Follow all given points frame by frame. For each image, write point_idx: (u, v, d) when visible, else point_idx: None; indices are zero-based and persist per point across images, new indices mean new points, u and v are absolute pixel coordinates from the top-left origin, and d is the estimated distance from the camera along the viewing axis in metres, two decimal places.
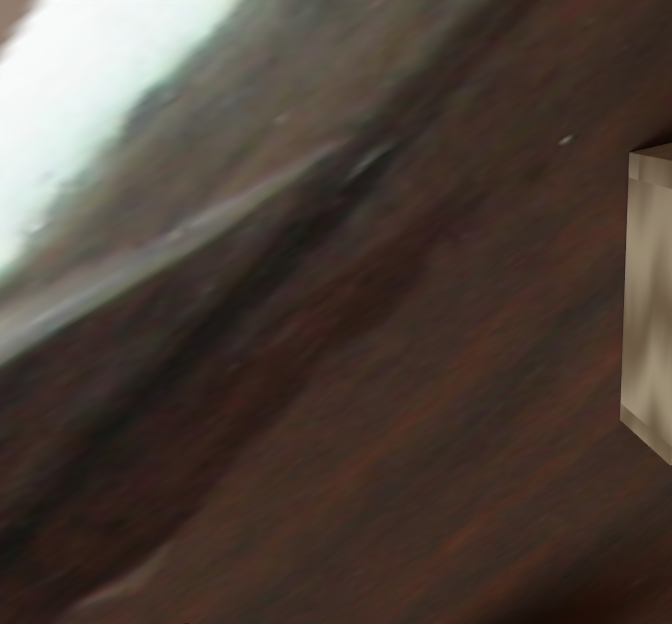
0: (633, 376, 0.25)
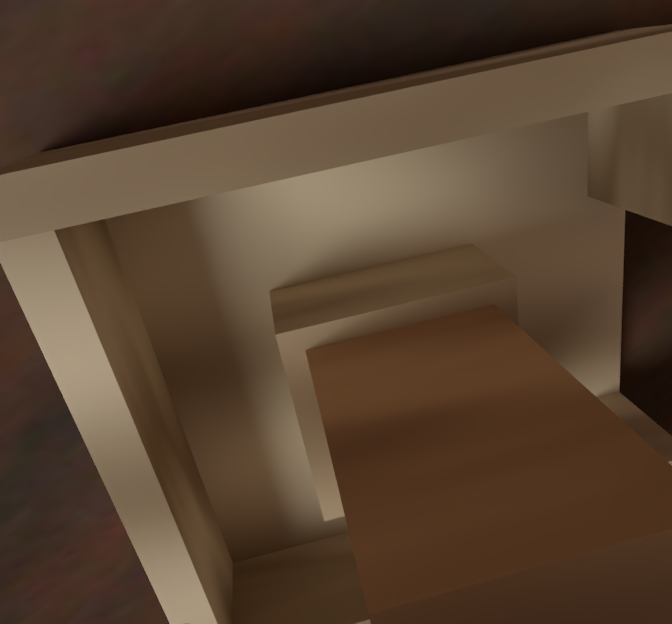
0: None
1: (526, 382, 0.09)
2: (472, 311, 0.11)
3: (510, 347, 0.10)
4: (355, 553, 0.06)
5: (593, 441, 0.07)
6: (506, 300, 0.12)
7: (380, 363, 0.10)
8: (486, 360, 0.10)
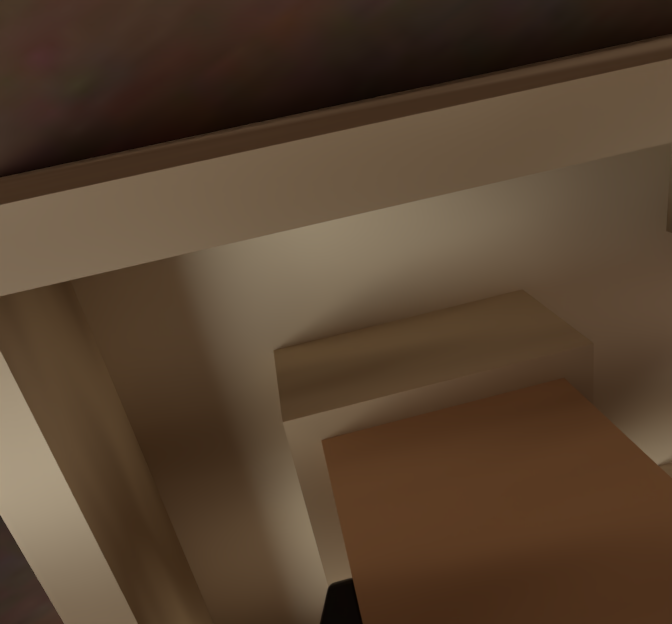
0: None
1: (639, 518, 0.06)
2: (536, 387, 0.09)
3: (601, 451, 0.07)
4: None
5: None
6: (579, 372, 0.09)
7: (424, 469, 0.08)
8: (572, 472, 0.07)
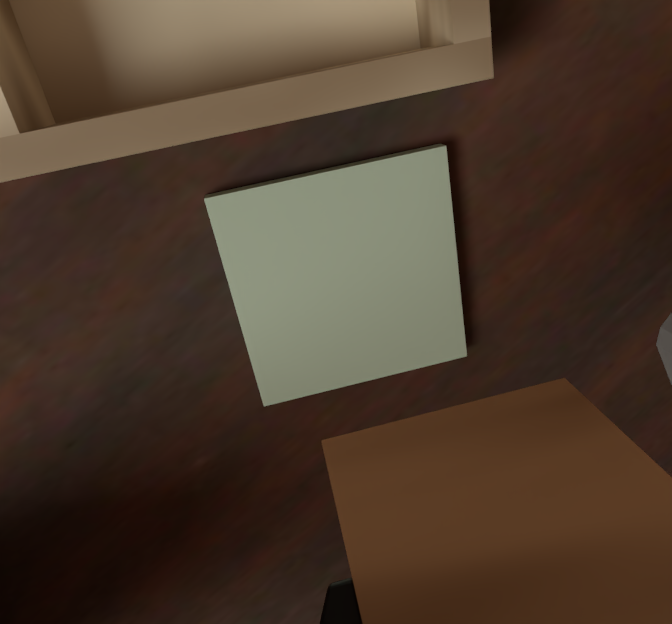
0: None
1: (639, 518, 0.06)
2: (536, 387, 0.09)
3: (601, 451, 0.07)
4: None
5: None
6: None
7: (424, 469, 0.08)
8: (573, 472, 0.07)
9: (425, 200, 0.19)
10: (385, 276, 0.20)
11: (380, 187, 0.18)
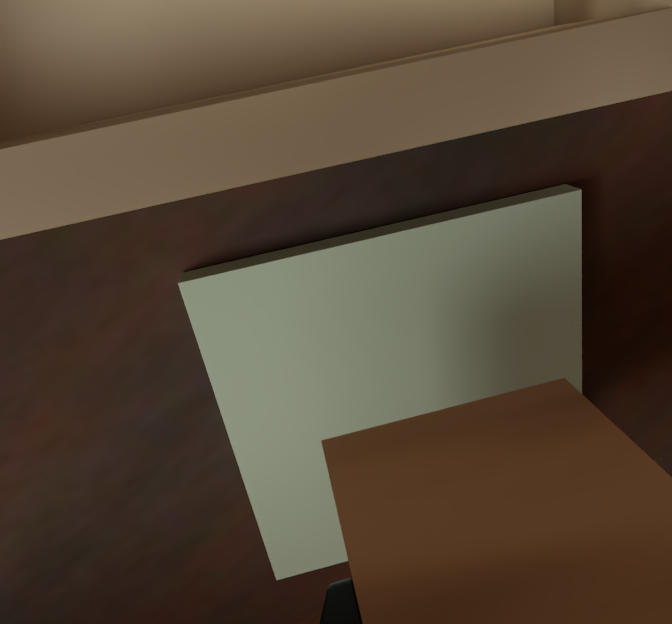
0: None
1: (640, 518, 0.06)
2: (537, 387, 0.09)
3: (602, 452, 0.07)
4: None
5: None
6: None
7: (424, 469, 0.08)
8: (573, 473, 0.07)
9: (541, 275, 0.12)
10: (470, 392, 0.12)
11: (470, 257, 0.11)
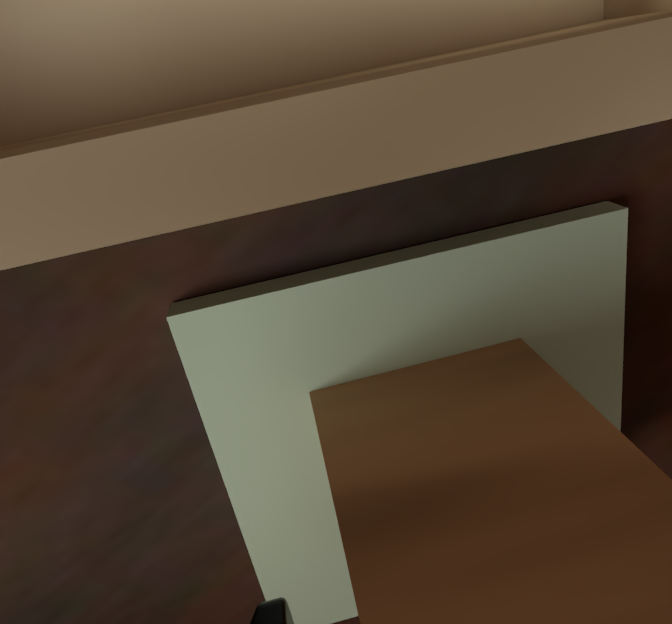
0: None
1: (566, 440, 0.08)
2: (496, 346, 0.10)
3: (543, 393, 0.09)
4: None
5: (656, 524, 0.06)
6: None
7: (395, 410, 0.09)
8: (517, 409, 0.08)
9: (580, 304, 0.10)
10: None
11: (500, 285, 0.10)
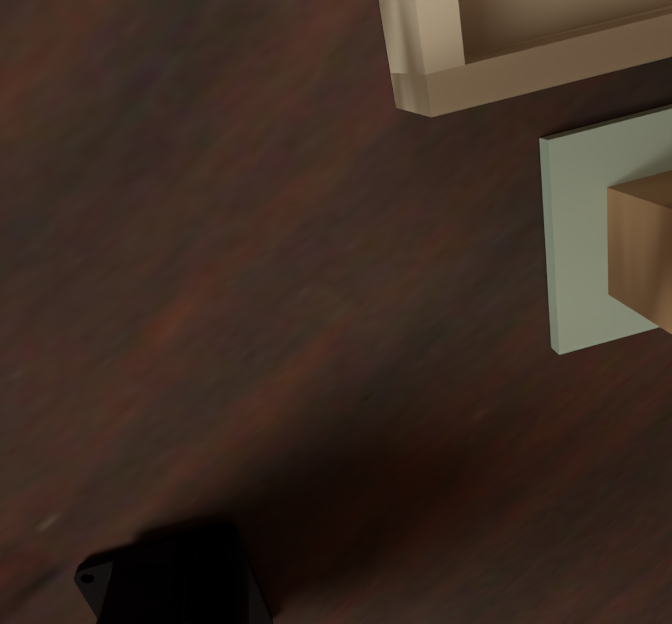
0: None
1: None
2: None
3: None
4: None
5: None
6: None
7: (668, 184, 0.17)
8: None
9: None
10: None
11: None
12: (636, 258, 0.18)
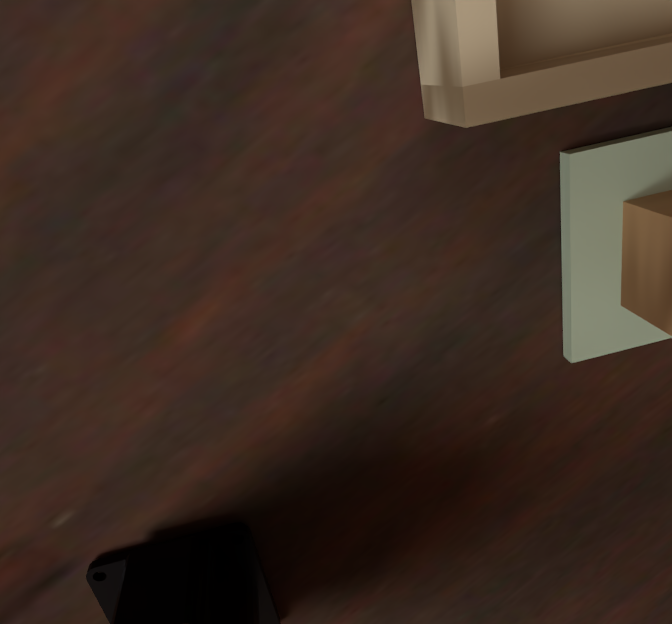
0: (421, 8, 0.16)
1: None
2: None
3: None
4: None
5: None
6: None
7: None
8: None
9: None
10: None
11: None
12: (651, 270, 0.19)
